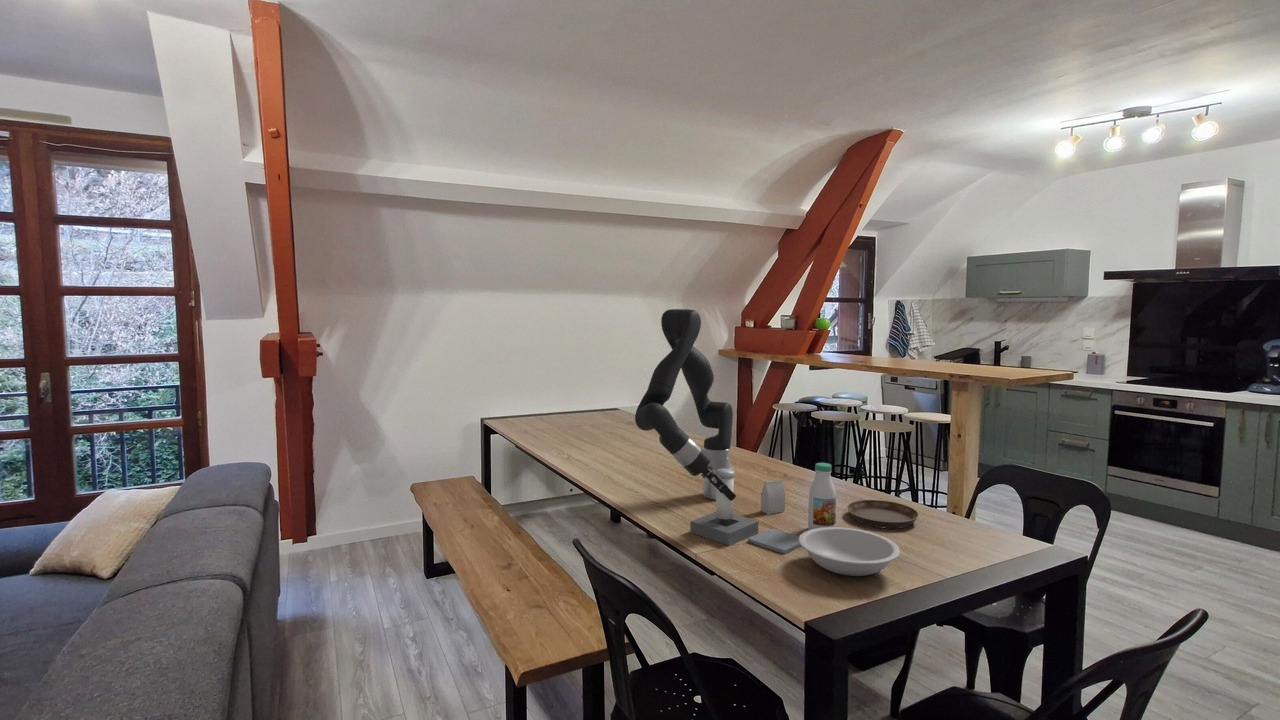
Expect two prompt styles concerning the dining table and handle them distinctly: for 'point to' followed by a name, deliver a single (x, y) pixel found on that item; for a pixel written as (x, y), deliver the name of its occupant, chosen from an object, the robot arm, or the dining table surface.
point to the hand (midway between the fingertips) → (730, 495)
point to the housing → (724, 528)
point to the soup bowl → (849, 550)
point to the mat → (776, 540)
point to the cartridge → (722, 502)
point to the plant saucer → (882, 513)
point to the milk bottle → (822, 499)
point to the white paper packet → (773, 497)
